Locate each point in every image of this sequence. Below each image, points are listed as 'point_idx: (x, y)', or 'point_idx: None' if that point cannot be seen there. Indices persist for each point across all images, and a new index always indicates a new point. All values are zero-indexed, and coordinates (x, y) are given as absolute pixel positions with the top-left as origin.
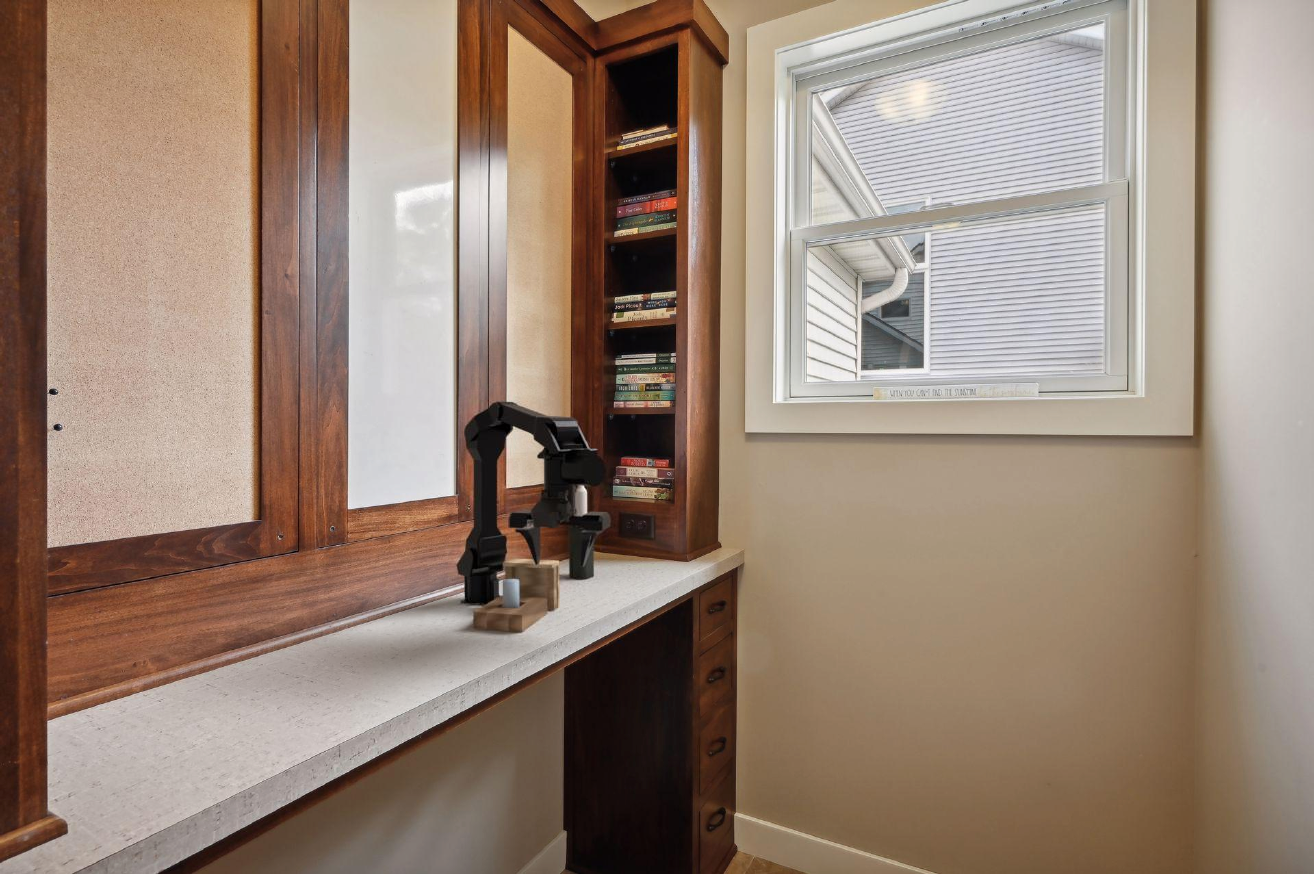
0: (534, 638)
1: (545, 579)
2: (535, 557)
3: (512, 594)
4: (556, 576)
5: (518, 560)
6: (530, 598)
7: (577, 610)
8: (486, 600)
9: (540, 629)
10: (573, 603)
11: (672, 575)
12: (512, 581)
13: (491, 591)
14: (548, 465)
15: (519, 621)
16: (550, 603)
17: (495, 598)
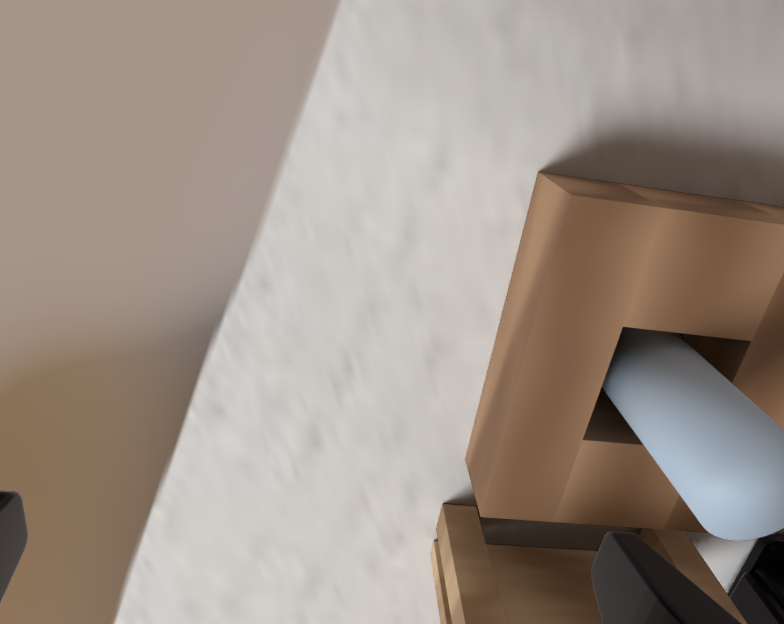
0: (445, 66)
1: None
2: (670, 593)
3: (694, 398)
4: None
5: None
6: (571, 506)
7: (332, 518)
8: (775, 565)
9: (446, 230)
10: (377, 597)
11: None
12: (746, 478)
13: (779, 607)
14: None
15: (574, 187)
16: (465, 530)
17: (737, 587)
